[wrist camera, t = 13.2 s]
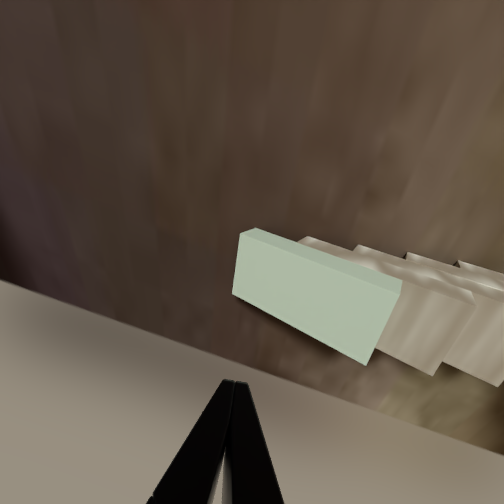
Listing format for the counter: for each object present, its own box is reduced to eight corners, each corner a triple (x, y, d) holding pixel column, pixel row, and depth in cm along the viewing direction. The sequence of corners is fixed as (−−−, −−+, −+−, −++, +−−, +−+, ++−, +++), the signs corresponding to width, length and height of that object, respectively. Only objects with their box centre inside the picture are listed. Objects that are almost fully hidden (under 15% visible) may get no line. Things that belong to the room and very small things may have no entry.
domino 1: (255, 227, 18) (402, 280, 14) (246, 284, 20) (371, 346, 16) (240, 233, 17) (399, 294, 12) (232, 293, 19) (366, 365, 14)
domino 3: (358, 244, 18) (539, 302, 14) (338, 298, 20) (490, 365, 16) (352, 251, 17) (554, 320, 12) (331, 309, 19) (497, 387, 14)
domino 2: (307, 235, 18) (471, 291, 14) (293, 291, 20) (431, 355, 16) (296, 242, 17) (477, 306, 12) (282, 301, 19) (432, 376, 14)
